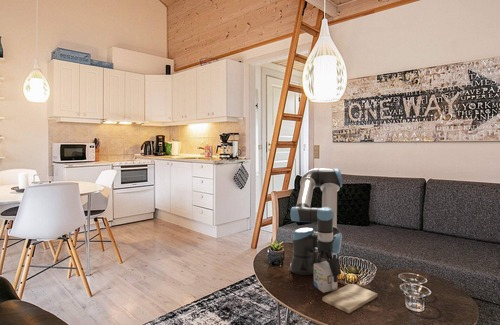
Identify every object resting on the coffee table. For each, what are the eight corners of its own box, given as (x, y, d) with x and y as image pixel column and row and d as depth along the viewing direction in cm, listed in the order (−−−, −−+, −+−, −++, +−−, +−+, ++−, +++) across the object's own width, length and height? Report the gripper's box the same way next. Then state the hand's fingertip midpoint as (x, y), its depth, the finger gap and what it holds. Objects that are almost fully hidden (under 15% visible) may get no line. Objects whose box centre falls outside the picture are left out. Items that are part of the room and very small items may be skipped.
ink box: (313, 285, 155) (313, 263, 154) (327, 282, 158) (327, 260, 158) (323, 293, 147) (323, 269, 146) (338, 289, 150) (337, 266, 150)
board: (322, 300, 140) (322, 297, 140) (351, 286, 154) (351, 283, 154) (348, 313, 129) (348, 309, 129) (377, 296, 143) (377, 293, 143)
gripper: (303, 236, 158) (303, 278, 159) (339, 247, 140) (339, 295, 142) (312, 233, 162) (313, 274, 164) (349, 243, 145) (349, 290, 146)
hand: (325, 284), depth 153 cm, fingers closed on ink box, 9 cm apart
